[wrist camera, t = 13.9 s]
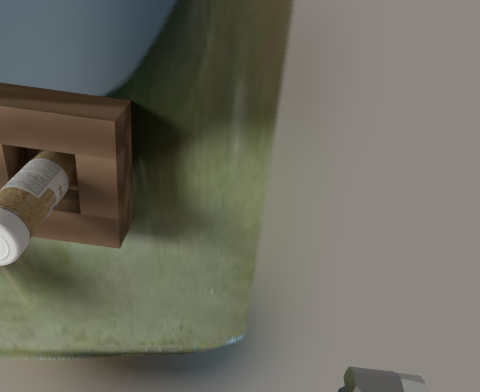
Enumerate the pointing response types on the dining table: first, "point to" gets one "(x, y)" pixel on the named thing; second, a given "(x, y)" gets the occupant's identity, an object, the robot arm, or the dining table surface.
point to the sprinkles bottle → (32, 199)
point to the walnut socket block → (86, 154)
